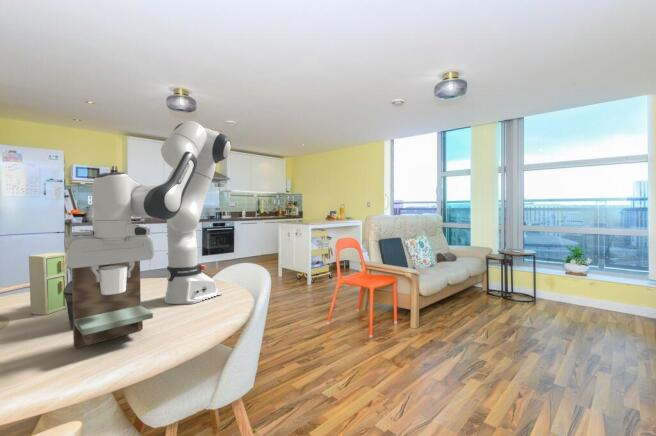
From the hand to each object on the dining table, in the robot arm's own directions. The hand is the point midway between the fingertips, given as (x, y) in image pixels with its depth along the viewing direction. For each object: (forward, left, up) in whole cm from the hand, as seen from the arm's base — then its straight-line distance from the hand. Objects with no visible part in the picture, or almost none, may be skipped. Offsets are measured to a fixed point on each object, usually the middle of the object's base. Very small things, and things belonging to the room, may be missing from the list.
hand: (113, 279), depth 85 cm
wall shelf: (0, 0, -18) cm, 18 cm away
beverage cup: (+4, -22, -18) cm, 29 cm away
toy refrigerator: (+8, -48, -18) cm, 52 cm away
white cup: (0, 0, -4) cm, 4 cm away
